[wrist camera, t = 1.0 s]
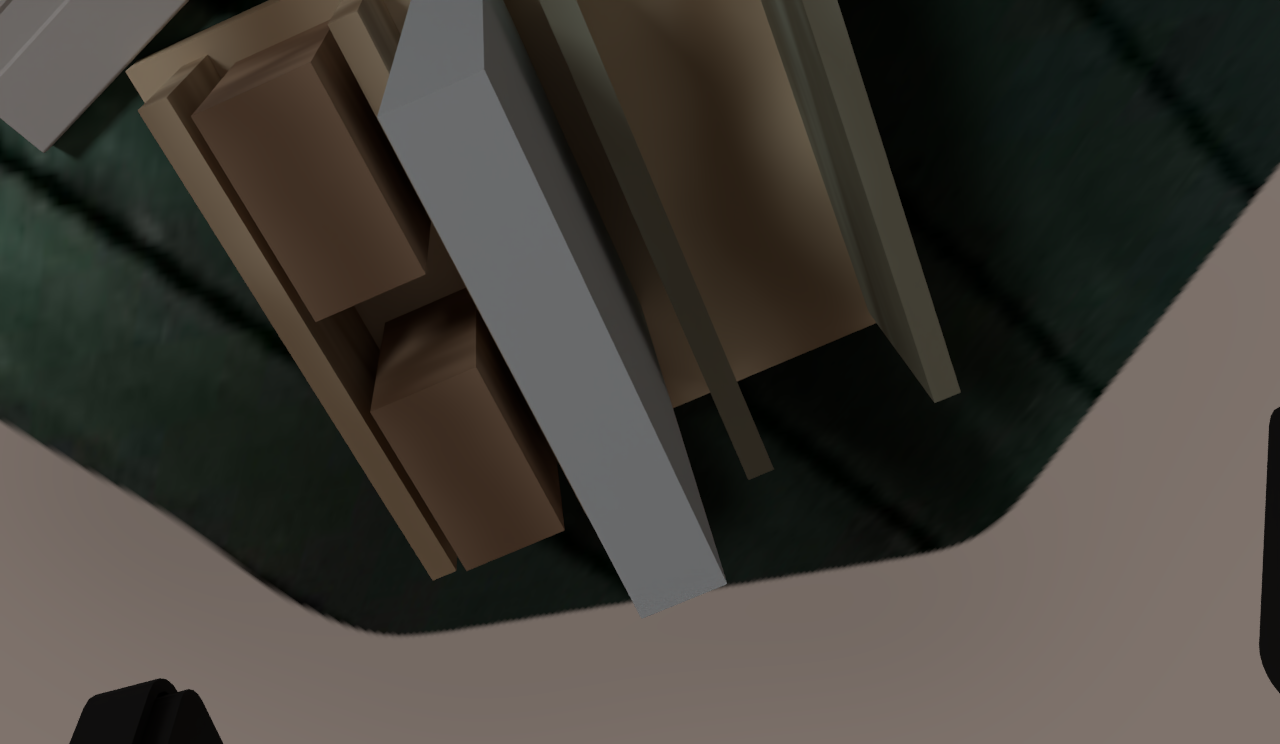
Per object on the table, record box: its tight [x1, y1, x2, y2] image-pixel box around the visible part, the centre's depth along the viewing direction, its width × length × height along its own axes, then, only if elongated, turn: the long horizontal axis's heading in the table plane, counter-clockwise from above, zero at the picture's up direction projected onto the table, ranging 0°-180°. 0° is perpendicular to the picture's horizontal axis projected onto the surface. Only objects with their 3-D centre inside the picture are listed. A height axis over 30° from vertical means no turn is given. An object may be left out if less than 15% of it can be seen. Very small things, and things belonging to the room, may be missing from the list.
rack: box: [125, 0, 961, 580], centre depth 35 cm, size 19×17×8 cm
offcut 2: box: [370, 288, 565, 571], centre depth 37 cm, size 3×6×6 cm, turn 22°
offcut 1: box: [191, 20, 431, 322], centre depth 32 cm, size 3×6×6 cm, turn 22°
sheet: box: [377, 0, 727, 618], centre depth 29 cm, size 2×12×15 cm, turn 22°
